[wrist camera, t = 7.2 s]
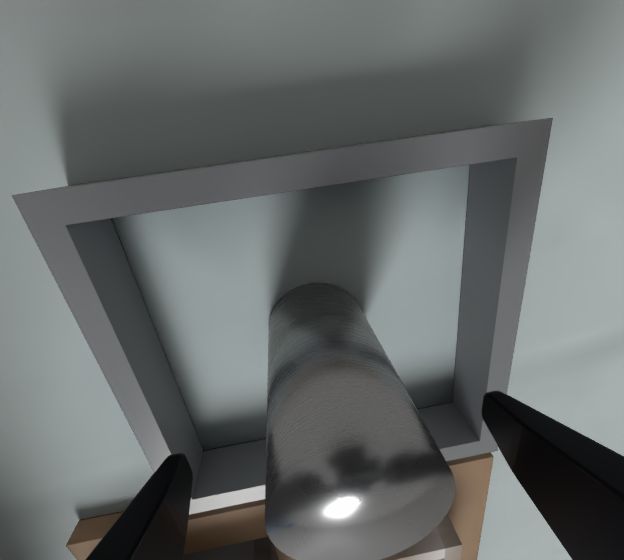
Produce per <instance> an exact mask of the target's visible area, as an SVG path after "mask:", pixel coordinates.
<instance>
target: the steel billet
mask: <svg viewBox="0 0 624 560" xmlns="http://www.w3.org/2000/svg"><path fill="white" fill-rule="evenodd" d="M454 495H455V480H454V475H453V473H452V471H451V469H450V467H449V465H448V464H447V462H446V460H445V458H444V456H443V455H442V453H441V451H440V449H439V447H438V446H437V444H436V442H435V440H434V439H433V437H432V435H431V433H430V431H429V430H428V428H427V426H426V424H425V422H424V421H423V419H422V417H421V415H420V414H419V412H418V410H417V408H416V406H415V405H414V403H413V401H412V399H411V398H410V396H409V394H408V392H407V390H406V389H405V387H404V385H403V383H402V381H401V380H400V378H399V376H398V374H397V373H396V371H395V369H394V367H393V365H392V364H391V362H390V360H389V358H388V356H387V355H386V353H385V351H384V349H383V348H382V346H381V344H380V342H379V340H378V339H377V337H376V335H375V333H374V331H373V330H372V328H371V326H370V324H369V323H368V321H367V319H366V317H365V315H364V314H363V312H362V310H361V308H360V307H359V305H358V303H357V302H356V300H355V299H354V298H353V296H352V295H351V294H349V293H348V292H347V291H345V290H344V289H342V288H340V287H338V286H335V285H331V284H326V283H312V284H307V285H303V286H300V287H297V288H295V289H293V290H291V291H290V292H288V293H287V294H286V295H285V296H283V297H282V298H281V299H280V300H279V302H278V303H277V304H276V306H275V307H274V309H273V311H272V313H271V316H270V320H269V343H268V390H267V436H266V483H265V528H266V532H267V534H268V536H269V539H270V540H271V541H272V543H273V544H274V545H275V546H276V547H277V548H278V549H279V550H280V551H281V552H283V553H284V554H286V555H287V556H289V557H291V558H293V559H295V560H381V559H383V558H386V557H389V556H392V555H394V554H397V553H399V552H401V551H403V550H405V549H407V548H409V547H411V546H412V545H414V544H416V543H417V542H419V541H420V540H422V539H423V538H424V537H426V536H427V535H428V534H429V533H430V532H432V531H433V530H434V529H435V528H436V527H437V526H438V525H439V524H440V523H441V521H442V520H443V519H444V517H445V516H446V515H447V513H448V511H449V509H450V507H451V505H452V502H453V500H454Z"/></svg>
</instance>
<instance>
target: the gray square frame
mask: <svg viewBox="0 0 624 560" xmlns="http://www.w3.org/2000/svg"><path fill="white" fill-rule="evenodd" d="M552 119H553V118H548V119H540V120H531V121H523V122H514V123H506V124H498V125H491V126H484V127H477V128H470V129H463V130H456V131H449V132H442V133H435V134H428V135H421V136H414V137H407V138H400V139H393V140H386V141H379V142H372V143H365V144H358V145H351V146H344V147H337V148H330V149H323V150H316V151H309V152H302V153H295V154H288V155H281V156H274V157H267V158H260V159H253V160H246V161H239V162H232V163H225V164H218V165H211V166H204V167H197V168H190V169H183V170H176V171H169V172H162V173H155V174H148V175H141V176H134V177H127V178H120V179H113V180H106V181H99V182H92V183H85V184H78V185H71V186H65V187H59V188H53V189H47V190H41V191H35V192H29V193H23V194H17V195H12V197H13V199H14V201H15V203H16V205H17V206H18V208H19V210H20V212H21V214H22V216H23V218H24V220H25V222H26V224H27V226H28V228H29V230H30V232H31V234H32V236H33V238H34V240H35V242H36V243H37V245H38V247H39V249H40V251H41V253H42V255H43V257H44V259H45V261H46V263H47V265H48V267H49V269H50V271H51V273H52V275H53V277H54V279H55V281H56V282H57V284H58V286H59V288H60V290H61V292H62V294H63V296H64V298H65V300H66V302H67V304H68V306H69V308H70V310H71V312H72V314H73V316H74V318H75V319H76V321H77V323H78V325H79V327H80V329H81V331H82V333H83V335H84V337H85V339H86V341H87V343H88V345H89V347H90V349H91V351H92V353H93V355H94V356H95V358H96V360H97V362H98V364H99V366H100V368H101V370H102V372H103V374H104V376H105V378H106V380H107V382H108V384H109V386H110V388H111V390H112V392H113V394H114V395H115V397H116V399H117V401H118V403H119V405H120V407H121V409H122V411H123V413H124V415H125V417H126V419H127V421H128V423H129V425H130V427H131V429H132V431H133V432H134V434H135V436H136V438H137V440H138V442H139V444H140V446H141V448H142V450H143V452H144V454H145V456H146V458H147V460H148V462H149V464H150V466H151V468H152V469H153V471H154V473H155V471H156V470H157V469H158V468H159V466H160V465H161V464H162V463H163V461H164V460H165V459H166V458H167V457H168V456H169V455H172V454H177V453H184V454H185V455H186V458H187V460H188V462H189V464H190V467H191V469H192V472H193V483H192V492H191V501H190V510H189V515H190V514H195V513H199V512H204V511H209V510H214V509H219V508H224V507H228V506H233V505H238V504H243V503H248V502H253V501H257V500H262V499H265V483H266V439H263V440H258V441H253V442H248V443H243V444H238V445H233V446H228V447H222V448H217V449H212V450H207V451H203V449H202V446H201V444H200V441H199V439H198V436H197V434H196V431H195V429H194V426H193V424H192V421H191V419H190V416H189V414H188V411H187V409H186V406H185V404H184V401H183V399H182V396H181V394H180V391H179V389H178V386H177V384H176V381H175V379H174V376H173V373H172V371H171V368H170V366H169V363H168V361H167V358H166V356H165V353H164V351H163V348H162V346H161V343H160V341H159V338H158V336H157V333H156V331H155V328H154V326H153V323H152V321H151V318H150V316H149V313H148V311H147V308H146V306H145V303H144V301H143V298H142V296H141V293H140V290H139V288H138V285H137V283H136V280H135V278H134V275H133V273H132V270H131V268H130V265H129V263H128V260H127V258H126V255H125V253H124V250H123V248H122V245H121V243H120V240H119V238H118V235H117V233H116V230H115V228H114V225H113V223H112V220H111V218H116V217H123V216H129V215H136V214H143V213H149V212H156V211H163V210H169V209H176V208H183V207H189V206H196V205H203V204H209V203H216V202H223V201H229V200H236V199H243V198H249V197H256V196H263V195H269V194H276V193H283V192H289V191H296V190H303V189H309V188H316V187H323V186H329V185H336V184H343V183H349V182H356V181H363V180H369V179H376V178H383V177H389V176H396V175H403V174H409V173H416V172H423V171H429V170H436V169H443V168H449V167H456V166H463V165H469V164H470V174H469V188H468V201H467V215H466V228H465V241H464V255H463V268H462V282H461V295H460V309H459V322H458V336H457V349H456V362H455V376H454V389H453V402H452V403H447V404H442V405H437V406H432V407H427V408H421V409H417V410H418V412H419V414H420V415H421V417H422V419H423V421H424V422H425V424H426V426H427V428H428V430H429V431H430V433H431V435H432V437H433V439H434V440H435V442H436V444H437V446H438V447H439V449H440V451H441V453H442V455H443V456H444V458H445V460H446V461H450V460H455V459H460V458H465V457H470V456H475V455H479V454H484V453H489V452H494V451H497V449H498V445H497V443H496V442H495V440H494V438H493V436H492V435H491V433H490V431H489V429H488V427H487V426H486V424H485V422H484V420H483V418H482V403H483V396H484V394H485V393H486V392H491V391H501V392H503V393H505V394H507V389H508V383H509V377H510V371H511V365H512V359H513V353H514V347H515V341H516V335H517V329H518V323H519V317H520V311H521V305H522V299H523V293H524V287H525V281H526V275H527V269H528V263H529V257H530V251H531V245H532V239H533V233H534V227H535V221H536V215H537V209H538V203H539V197H540V191H541V185H542V179H543V173H544V167H545V161H546V155H547V149H548V143H549V137H550V131H551V125H552Z"/></svg>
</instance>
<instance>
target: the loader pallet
mask: <svg viewBox="0 0 624 560" xmlns="http://www.w3.org/2000/svg"><path fill="white" fill-rule="evenodd" d="M446 462H447V464H448V465H449V467H450V469H451V471H452V473H453V475H454V480H455V495H454V500H453V502H452V505H451V507H450V509H449V511H448V513H447V515H446V516H445V517H444V519H443V520H442V521H441V523H440V524H439V525H438V526H437V527H436V528H435V529H434V530H433V531H432V532H430V533H429V534H428V535H427V536H426V537H424V538H423V539H422V540H420V541H419V542H417V543H416V544H414V545H412V546H411V547H409V548H407V549H405V550H403V551H401V552H399V553H397V554H394V555H392V556H389V557H386V558H383V559H381V560H477V556H478V549H479V543H480V537H481V531H482V525H483V519H484V512H485V506H486V500H487V494H488V488H489V481H490V475H491V469H492V463H493V455H492V454H491V453H490V452H489V453H484V454H479V455H475V456H470V457H465V458H460V459H455V460H450V461H446ZM122 513H123V512H120V513H115V514H110V515H105V516H100V517H95V518H90V519H85V520H81V521H79V522H78V524H77V525H76V527H75V529H74V531H73V533H72V535H71V537H70V539H69V541H68V543H67V545H66V547H67V548H68V549H69V550H70V552H71V553H72V554H73V555H74V556H75V558H76V559H77V560H85V559H86V558H87V557H88V556H89V554H90V553H91V552H92V551H93V549H94V548H95V547H96V546H97V544H98V543H99V542H100V541H101V539H102V538H103V537H104V536H105V534H106V533H107V532H108V530H109V529H110V528H111V527H112V525H113V524H114V523H115V522H116V520H117V519H118V518H119V517H120V515H121V514H122ZM182 560H295V559H293V558H291V557H289V556H287V555H286V554H284V553H283V552H281V551H280V550H279V549H278V548H277V547H276V546H275V545H274V544H273V543H272V541H271V540H270V539H269V536H268V534H267V532H266V528H265V499H262V500H257V501H253V502H248V503H243V504H238V505H233V506H228V507H224V508H219V509H214V510H209V511H204V512H199V513H195V514H190V515H189V519H188V528H187V536H186V543H185V549H184V554H183V559H182Z"/></svg>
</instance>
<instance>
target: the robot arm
mask: <svg viewBox="0 0 624 560" xmlns="http://www.w3.org/2000/svg"><path fill="white" fill-rule="evenodd" d="M482 418H483V420H484V422H485V424H486V426H487V427H488V429H489V431H490V433H491V435H492V436H493V438H494V440H495V442H496V443H497V445H498V447H499V449H500V451H501V452H502V454H503V456H504V458H505V460H506V461H507V463H508V465H509V466H510V468H511V470H512V472H513V473H514V475H515V476H516V478H517V479H518V481H519V482H520V484H521V485H522V487H523V488H524V489H525V491H526V492H527V494H528V495H529V497H530V498H531V500H532V501H533V503H534V504H535V506H536V507H537V508H538V510H539V511H540V513H541V514H542V516H543V517H544V519H545V520H546V522H547V523H548V525H549V526H550V527H551V529H552V530H553V532H554V533H555V535H556V536H557V538H558V539H559V541H560V542H561V543H562V545H563V546H564V548H565V549H566V551H567V552H568V554H569V555H570V557H571V558H572V560H624V456H622V455H620V454H618V453H616V452H614V451H612V450H611V449H609V448H607V447H605V446H603V445H601V444H599V443H597V442H595V441H594V440H592V439H590V438H588V437H586V436H584V435H582V434H580V433H578V432H576V431H575V430H573V429H571V428H569V427H567V426H565V425H563V424H561V423H559V422H558V421H556V420H554V419H552V418H550V417H548V416H546V415H544V414H542V413H541V412H539V411H537V410H535V409H533V408H531V407H529V406H527V405H525V404H524V403H522V402H520V401H518V400H516V399H514V398H512V397H510V396H508V395H507V394H505V393H503V392H501V391H491V392H486V393H485V394H484V396H483V403H482ZM192 483H193V472H192V469H191V467H190V464H189V462H188V460H187V458H186V455H185V454H184V453H177V454H172V455H169V456H168V457H167V458H166V459H165V460H164V461H163V463H162V464H161V465H160V466H159V468H158V469H157V470H156V471H155V473H154V474H153V475H152V476H151V478H150V479H149V480H148V481H147V483H146V484H145V485H144V486H143V488H142V489H141V490H140V491H139V493H138V494H137V495H136V497H135V498H134V499H133V500H132V502H131V503H130V504H129V505H128V507H127V508H126V509H125V510H124V512H123V513H122V514H121V515H120V517H119V518H118V519H117V520H116V522H115V523H114V524H113V525H112V527H111V528H110V529H109V530H108V532H107V533H106V534H105V536H104V537H103V538H102V539H101V541H100V542H99V543H98V544H97V546H96V547H95V548H94V549H93V551H92V552H91V553H90V554H89V556H88V557H87V558H86V559H85V560H182V559H183V554H184V549H185V543H186V536H187V528H188V519H189V510H190V501H191V492H192Z"/></svg>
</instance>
